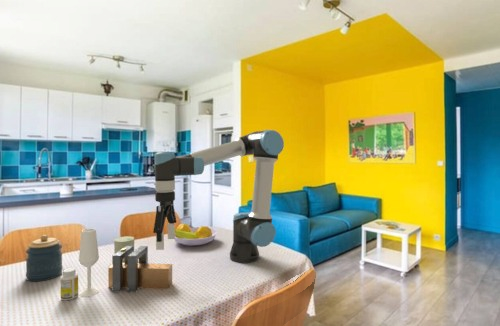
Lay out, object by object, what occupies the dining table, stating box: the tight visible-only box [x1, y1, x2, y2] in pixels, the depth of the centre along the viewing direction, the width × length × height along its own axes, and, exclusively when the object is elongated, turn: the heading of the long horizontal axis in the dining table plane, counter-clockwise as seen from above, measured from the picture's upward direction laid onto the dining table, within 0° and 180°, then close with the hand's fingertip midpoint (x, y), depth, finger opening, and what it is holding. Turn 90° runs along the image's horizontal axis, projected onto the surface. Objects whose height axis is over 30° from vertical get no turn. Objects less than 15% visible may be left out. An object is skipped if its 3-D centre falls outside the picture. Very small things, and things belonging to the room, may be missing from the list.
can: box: [113, 235, 135, 263], centre depth 142 cm, size 9×9×12 cm
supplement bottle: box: [59, 267, 79, 301], centre depth 107 cm, size 6×6×10 cm
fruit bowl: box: [174, 223, 218, 247], centre depth 174 cm, size 28×27×11 cm
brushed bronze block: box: [107, 262, 173, 290], centre depth 118 cm, size 24×5×8 cm, turn 88°
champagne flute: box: [78, 228, 100, 298], centre depth 111 cm, size 7×7×24 cm
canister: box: [25, 234, 63, 282], centre depth 126 cm, size 13×13×18 cm
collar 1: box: [111, 245, 135, 293], centre depth 118 cm, size 3×12×15 cm, turn 178°
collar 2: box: [127, 245, 149, 293], centre depth 117 cm, size 3×12×14 cm, turn 178°
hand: (165, 243), depth 117 cm, fingers open, 13 cm apart
